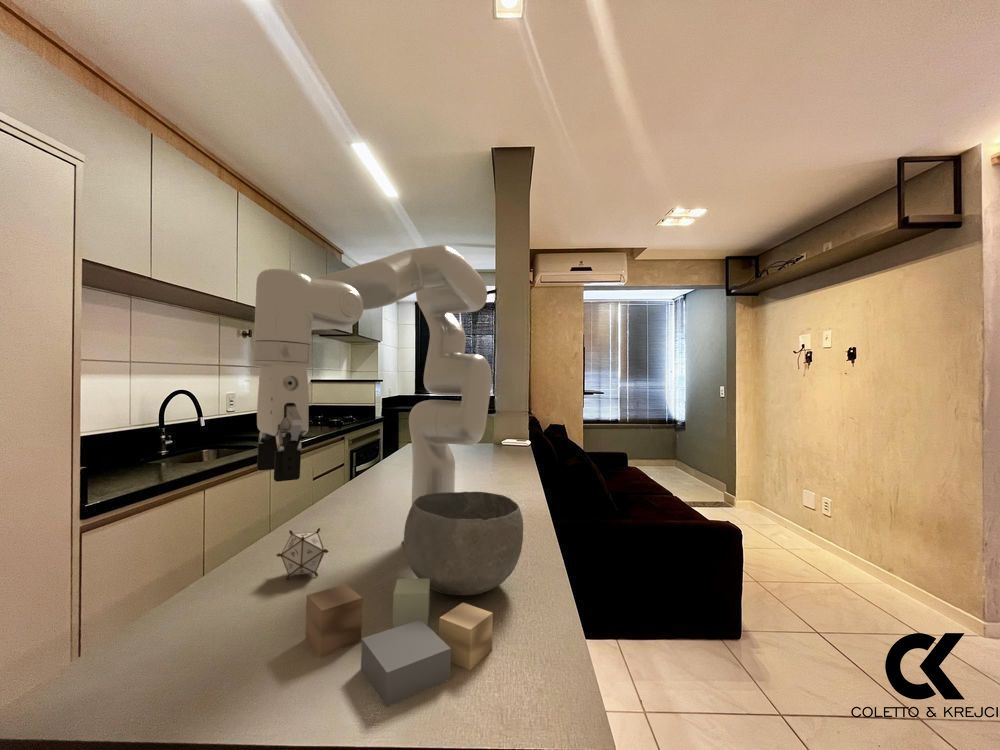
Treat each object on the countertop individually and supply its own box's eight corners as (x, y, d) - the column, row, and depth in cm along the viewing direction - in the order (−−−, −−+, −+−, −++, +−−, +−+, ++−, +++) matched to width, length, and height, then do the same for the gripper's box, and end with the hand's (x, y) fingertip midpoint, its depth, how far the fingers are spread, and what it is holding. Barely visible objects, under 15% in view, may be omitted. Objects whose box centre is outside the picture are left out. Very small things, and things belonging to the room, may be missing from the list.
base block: (420, 649, 60) (420, 619, 60) (450, 682, 54) (450, 648, 54) (360, 671, 55) (361, 638, 55) (386, 709, 49) (387, 672, 49)
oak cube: (462, 638, 62) (462, 602, 63) (491, 650, 60) (492, 612, 60) (438, 656, 58) (439, 617, 58) (469, 670, 56) (470, 629, 56)
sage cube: (429, 610, 70) (430, 578, 70) (427, 627, 65) (428, 593, 65) (396, 611, 70) (397, 579, 70) (392, 629, 65) (393, 594, 65)
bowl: (428, 631, 64) (430, 525, 64) (388, 576, 82) (390, 493, 82) (545, 599, 74) (547, 508, 75) (487, 557, 92) (488, 483, 92)
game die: (306, 599, 80) (304, 568, 75) (267, 578, 82) (263, 545, 76) (338, 559, 87) (339, 528, 82) (303, 540, 89) (301, 508, 84)
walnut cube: (344, 625, 65) (345, 583, 65) (361, 642, 61) (362, 597, 61) (305, 639, 61) (306, 595, 62) (320, 658, 57) (321, 610, 58)
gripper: (329, 355, 61) (324, 482, 61) (292, 360, 74) (288, 464, 74) (269, 351, 56) (262, 488, 56) (241, 357, 70) (236, 468, 69)
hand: (277, 474), depth 65 cm, fingers open, 9 cm apart
